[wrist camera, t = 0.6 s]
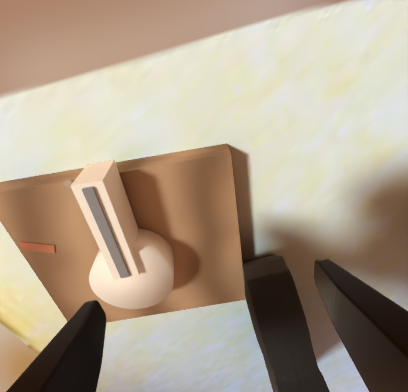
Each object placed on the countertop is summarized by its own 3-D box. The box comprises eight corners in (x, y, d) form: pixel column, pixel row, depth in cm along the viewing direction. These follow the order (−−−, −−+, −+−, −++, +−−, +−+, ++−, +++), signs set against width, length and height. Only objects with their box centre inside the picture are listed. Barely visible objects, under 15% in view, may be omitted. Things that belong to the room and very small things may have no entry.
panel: (226, 141, 19) (231, 151, 17) (241, 283, 27) (246, 300, 25) (-1, 180, 19) (-19, 194, 18) (79, 310, 27) (71, 329, 25)
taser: (285, 242, 21) (378, 498, 15) (267, 270, 37) (308, 397, 31) (234, 255, 21) (305, 514, 15) (238, 277, 37) (273, 405, 31)
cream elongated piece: (180, 277, 23) (180, 309, 20) (112, 288, 23) (103, 322, 20) (146, 154, 17) (139, 175, 14) (55, 169, 17) (31, 193, 14)
